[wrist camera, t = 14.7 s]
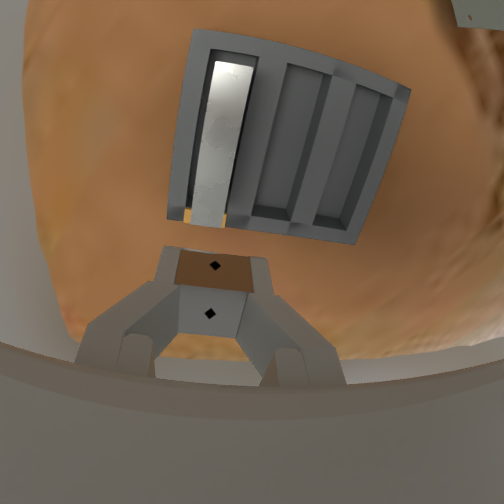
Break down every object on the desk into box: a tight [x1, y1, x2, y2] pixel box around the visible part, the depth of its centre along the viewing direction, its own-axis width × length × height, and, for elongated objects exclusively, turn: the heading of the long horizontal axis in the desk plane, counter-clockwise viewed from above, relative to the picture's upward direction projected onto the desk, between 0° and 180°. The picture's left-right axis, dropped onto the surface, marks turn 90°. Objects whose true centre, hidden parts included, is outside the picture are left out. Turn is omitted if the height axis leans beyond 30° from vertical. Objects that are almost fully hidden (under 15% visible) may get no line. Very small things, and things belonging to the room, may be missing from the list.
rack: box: [167, 29, 411, 245], centre depth 25 cm, size 19×17×4 cm
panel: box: [190, 61, 254, 228], centre depth 22 cm, size 2×12×7 cm, turn 168°
